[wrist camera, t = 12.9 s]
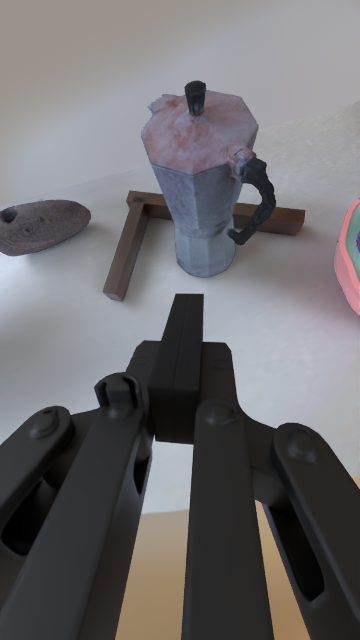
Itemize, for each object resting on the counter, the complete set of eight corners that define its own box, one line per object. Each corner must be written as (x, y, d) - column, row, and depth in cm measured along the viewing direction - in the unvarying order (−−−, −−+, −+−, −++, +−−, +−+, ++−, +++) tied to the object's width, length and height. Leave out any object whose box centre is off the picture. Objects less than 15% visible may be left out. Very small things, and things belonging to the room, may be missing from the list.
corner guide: (104, 298, 34) (95, 290, 32) (135, 204, 38) (129, 190, 35) (282, 333, 30) (290, 328, 27) (297, 224, 34) (305, 210, 31)
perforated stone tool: (95, 211, 39) (72, 176, 32) (101, 236, 37) (78, 206, 31) (13, 239, 39) (-26, 211, 32) (16, 265, 38) (-25, 241, 31)
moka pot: (194, 204, 37) (181, 14, 18) (268, 263, 33) (357, 100, 14) (151, 243, 36) (88, 86, 17) (222, 307, 32) (247, 201, 13)
